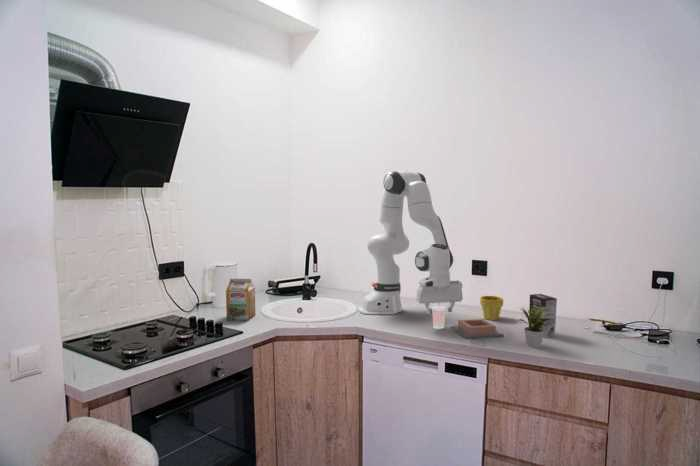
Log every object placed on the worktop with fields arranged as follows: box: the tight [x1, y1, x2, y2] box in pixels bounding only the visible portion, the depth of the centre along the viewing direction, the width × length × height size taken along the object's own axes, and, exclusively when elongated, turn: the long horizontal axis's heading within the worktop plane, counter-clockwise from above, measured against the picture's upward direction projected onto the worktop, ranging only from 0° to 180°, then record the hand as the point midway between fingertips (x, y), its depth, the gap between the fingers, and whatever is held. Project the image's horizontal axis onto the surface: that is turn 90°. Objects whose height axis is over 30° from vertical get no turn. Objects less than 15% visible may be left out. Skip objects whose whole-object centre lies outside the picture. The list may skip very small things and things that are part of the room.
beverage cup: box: [431, 303, 447, 330], centre depth 202 cm, size 6×6×14 cm
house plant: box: [515, 304, 552, 348], centre depth 177 cm, size 14×14×16 cm
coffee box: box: [528, 293, 558, 338], centre depth 192 cm, size 9×6×16 cm
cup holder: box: [450, 318, 504, 340], centre depth 195 cm, size 16×16×4 cm
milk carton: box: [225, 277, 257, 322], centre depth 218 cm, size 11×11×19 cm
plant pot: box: [479, 295, 504, 321], centre depth 217 cm, size 10×10×10 cm
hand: (439, 312), depth 202 cm, fingers open, 8 cm apart
